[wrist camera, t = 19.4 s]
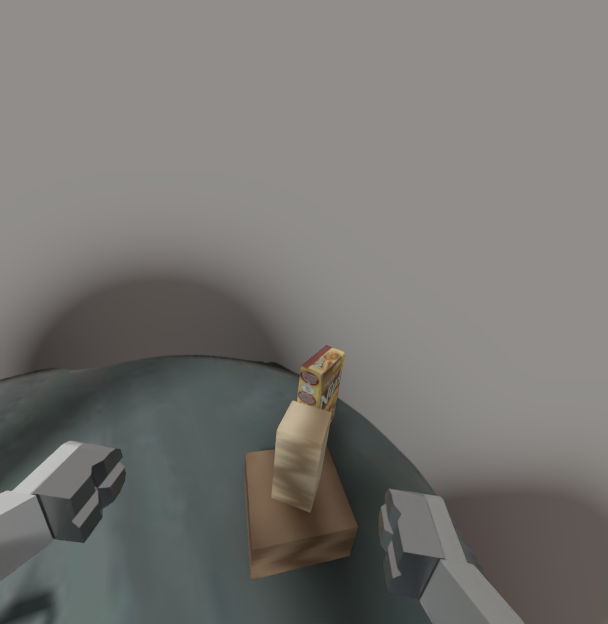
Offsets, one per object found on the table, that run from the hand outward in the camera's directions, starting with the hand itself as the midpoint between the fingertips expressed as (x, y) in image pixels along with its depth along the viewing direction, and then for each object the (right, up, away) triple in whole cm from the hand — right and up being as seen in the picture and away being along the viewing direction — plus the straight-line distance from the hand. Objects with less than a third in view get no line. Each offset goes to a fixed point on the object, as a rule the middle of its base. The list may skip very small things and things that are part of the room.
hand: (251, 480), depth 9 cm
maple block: (+1, -17, +28) cm, 33 cm away
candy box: (+3, -17, +45) cm, 48 cm away
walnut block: (0, -23, +30) cm, 38 cm away
